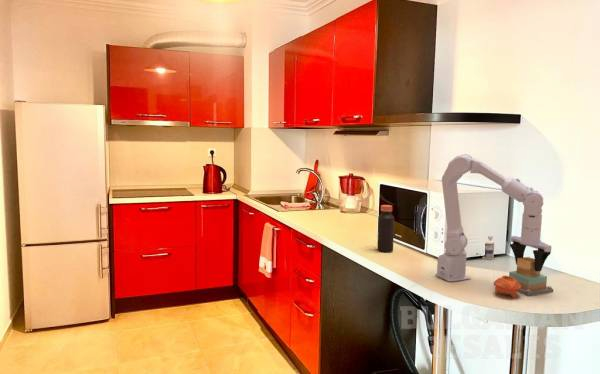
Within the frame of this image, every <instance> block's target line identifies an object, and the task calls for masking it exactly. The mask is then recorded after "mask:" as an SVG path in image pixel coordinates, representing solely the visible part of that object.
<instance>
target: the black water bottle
mask: <svg viewBox="0 0 600 374" xmlns="http://www.w3.org/2000/svg"><path fill="white" fill-rule="evenodd" d="M392 213H393V205H391V204H382V205H380V214H379V216H378V217H377V218H378V219H377V243H376V244H377V251H378V252H380V253H392V252H393V251H394V238H395V237H394V232H395V230H394V229H395V217H394V215H393V214H392Z"/></svg>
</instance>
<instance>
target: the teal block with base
mask: <svg viewBox="0 0 600 374" xmlns="http://www.w3.org/2000/svg"><path fill="white" fill-rule="evenodd" d="M508 273H509V274H508V276H509V277H513V278H515V280H516V281H517V282H518V283H519V284H520V285H521V289H520V291H518V292H517V293H520V294H523V295H525V296H527V297H531V296H537V295H543V294H549V293H553V292H554V288H553V287H552V286H551V285H548V286H547V281H548V276H547V275H545V274H541V273H540V276H533V277H527V276H524V275H521V274H519V273H517V270H513V271H509V272H508Z"/></svg>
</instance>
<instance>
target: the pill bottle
mask: <svg viewBox="0 0 600 374" xmlns="http://www.w3.org/2000/svg"><path fill="white" fill-rule="evenodd" d="M488 239H489V241H487V242H486V243H485V255H484V256H483V257H482V258H481V259H483V260H493V259H494V258H495V257H494V255H495V241H494V235H493V236H488ZM492 240H493V241H492Z"/></svg>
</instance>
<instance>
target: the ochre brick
mask: <svg viewBox="0 0 600 374" xmlns="http://www.w3.org/2000/svg"><path fill="white" fill-rule="evenodd" d="M516 271H517V273H519V274H521V275H524V276H527V277H533V276H540V274H541V271H538V272H536V271H535V258H533V257H530V256H525V257H524V256H523V258H517V265H516Z"/></svg>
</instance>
